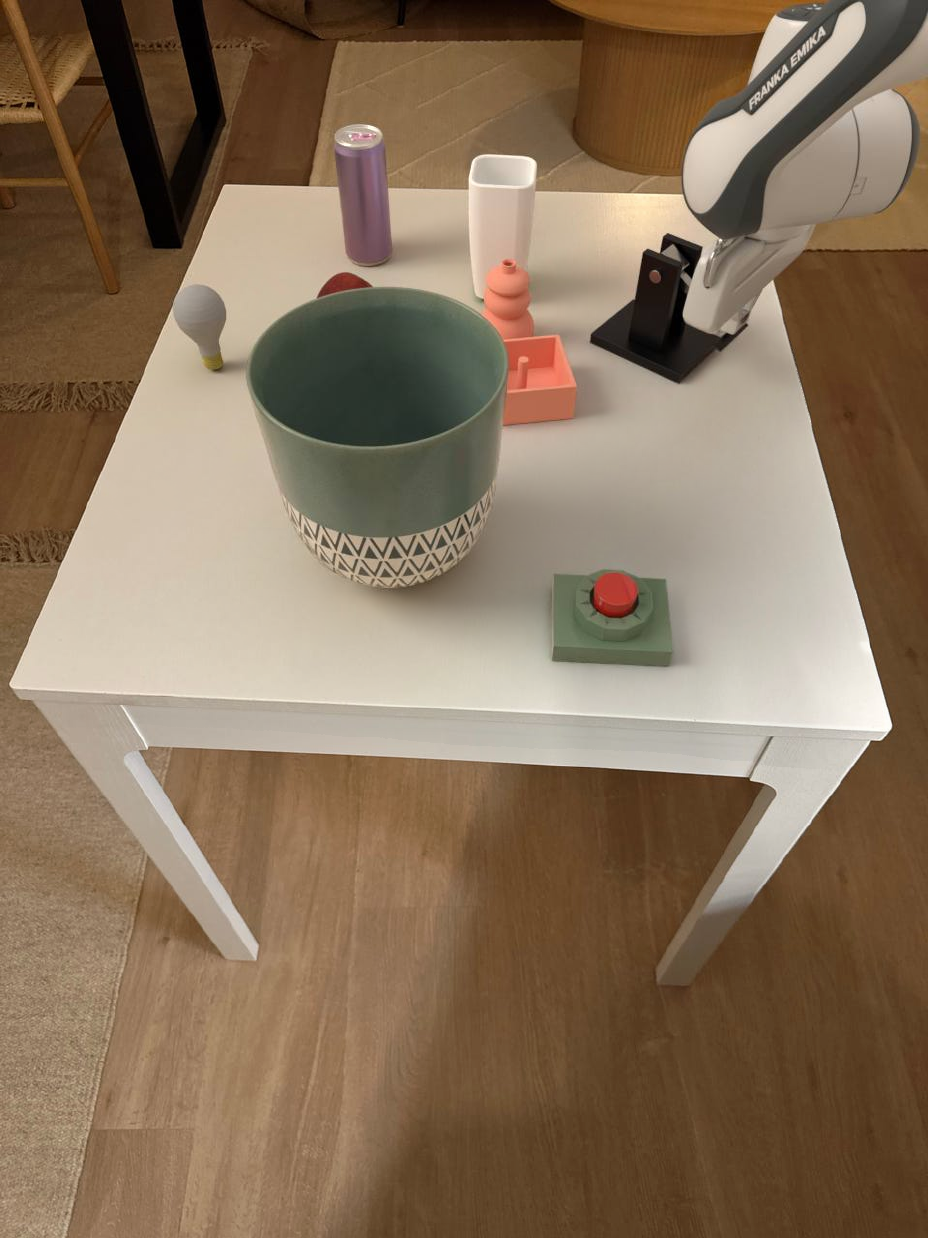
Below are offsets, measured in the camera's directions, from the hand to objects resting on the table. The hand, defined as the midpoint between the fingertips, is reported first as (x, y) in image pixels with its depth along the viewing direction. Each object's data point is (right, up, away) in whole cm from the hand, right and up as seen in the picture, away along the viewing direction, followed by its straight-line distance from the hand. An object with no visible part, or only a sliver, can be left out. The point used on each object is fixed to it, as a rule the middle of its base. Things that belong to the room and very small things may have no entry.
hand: (733, 326), depth 96 cm
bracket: (-7, +1, +8) cm, 11 cm away
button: (-16, -30, -19) cm, 39 cm away
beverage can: (-41, +16, +20) cm, 48 cm away
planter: (-35, -25, -11) cm, 45 cm away
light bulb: (-57, -3, +6) cm, 58 cm away
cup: (-24, +9, +15) cm, 30 cm away
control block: (-16, -32, -17) cm, 39 cm away
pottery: (-23, -3, +5) cm, 24 cm away
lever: (-4, +3, +2) cm, 5 cm away
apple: (-42, +1, +9) cm, 43 cm away
